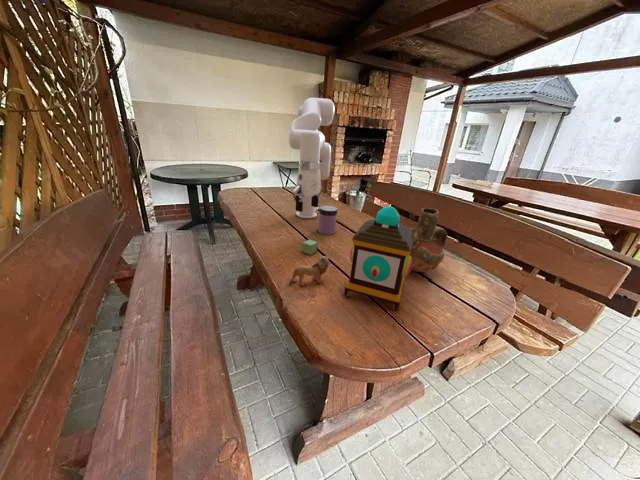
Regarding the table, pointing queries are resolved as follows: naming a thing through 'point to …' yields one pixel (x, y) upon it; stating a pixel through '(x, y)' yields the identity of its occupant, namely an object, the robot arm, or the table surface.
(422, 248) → the ceramic vessel
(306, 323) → the table surface
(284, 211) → the table surface
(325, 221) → the jar
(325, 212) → the jar lid
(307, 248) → the block
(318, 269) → the lion figurine
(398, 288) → the decorative lantern
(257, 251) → the table surface
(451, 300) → the table surface
